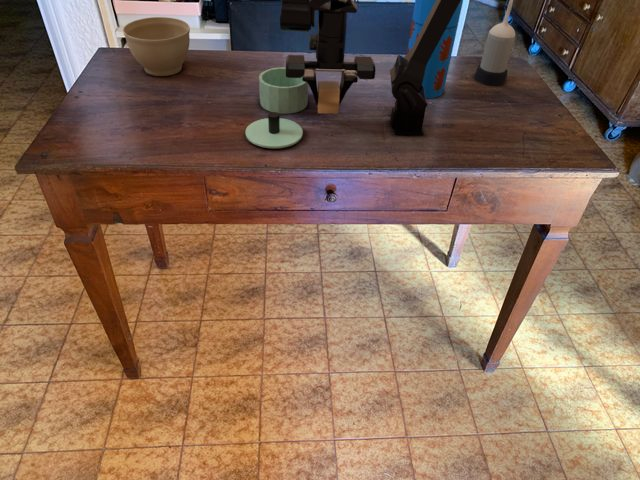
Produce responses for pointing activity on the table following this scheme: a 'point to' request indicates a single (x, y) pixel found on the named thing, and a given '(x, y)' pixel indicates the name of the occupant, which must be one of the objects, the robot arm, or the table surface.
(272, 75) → the tin
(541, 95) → the table surface
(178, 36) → the planter bowl
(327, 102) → the block
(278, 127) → the lid
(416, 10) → the thermos
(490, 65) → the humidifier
